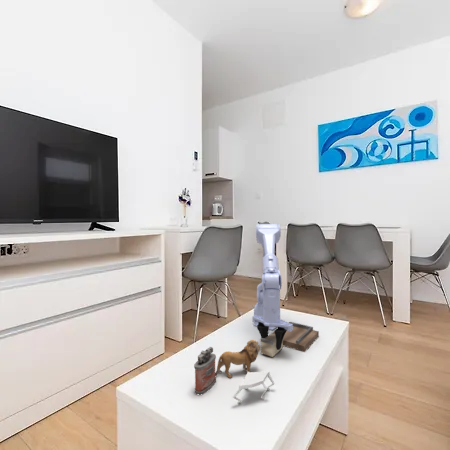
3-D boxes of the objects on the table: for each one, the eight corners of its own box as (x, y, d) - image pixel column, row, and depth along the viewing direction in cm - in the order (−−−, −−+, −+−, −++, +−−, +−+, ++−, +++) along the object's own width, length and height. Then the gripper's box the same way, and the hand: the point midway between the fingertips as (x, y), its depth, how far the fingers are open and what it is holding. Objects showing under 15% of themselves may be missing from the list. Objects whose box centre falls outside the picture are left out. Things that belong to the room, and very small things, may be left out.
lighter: (201, 396, 72) (201, 359, 71) (191, 392, 73) (191, 355, 73) (218, 380, 78) (218, 346, 78) (209, 377, 80) (208, 343, 80)
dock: (268, 341, 103) (268, 332, 103) (285, 328, 115) (285, 320, 115) (304, 351, 94) (304, 342, 94) (318, 336, 106) (318, 328, 106)
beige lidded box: (260, 354, 93) (260, 338, 93) (271, 345, 99) (271, 330, 99) (272, 358, 90) (272, 342, 90) (283, 349, 96) (282, 333, 96)
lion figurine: (255, 363, 87) (254, 336, 87) (263, 372, 82) (262, 343, 82) (211, 373, 82) (210, 344, 82) (216, 383, 77) (216, 352, 77)
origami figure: (250, 380, 79) (250, 363, 79) (276, 391, 74) (276, 373, 73) (224, 402, 69) (224, 383, 69) (252, 417, 64) (252, 396, 64)
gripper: (247, 306, 95) (248, 345, 96) (286, 315, 87) (286, 357, 87) (257, 301, 101) (258, 338, 101) (295, 309, 92) (295, 348, 93)
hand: (272, 346), depth 95 cm, fingers closed on beige lidded box, 4 cm apart
